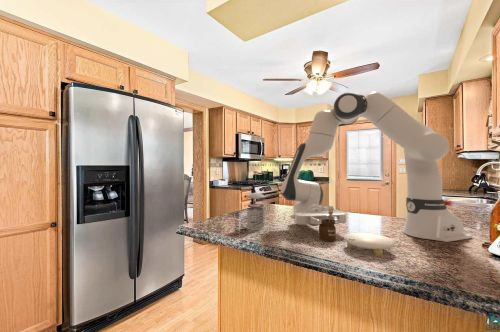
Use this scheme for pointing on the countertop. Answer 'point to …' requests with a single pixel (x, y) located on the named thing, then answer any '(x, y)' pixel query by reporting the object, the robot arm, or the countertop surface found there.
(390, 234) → the countertop surface
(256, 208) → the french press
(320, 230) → the utensil holder
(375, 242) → the leveling stand
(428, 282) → the countertop surface
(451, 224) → the robot arm
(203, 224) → the countertop surface
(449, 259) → the countertop surface
